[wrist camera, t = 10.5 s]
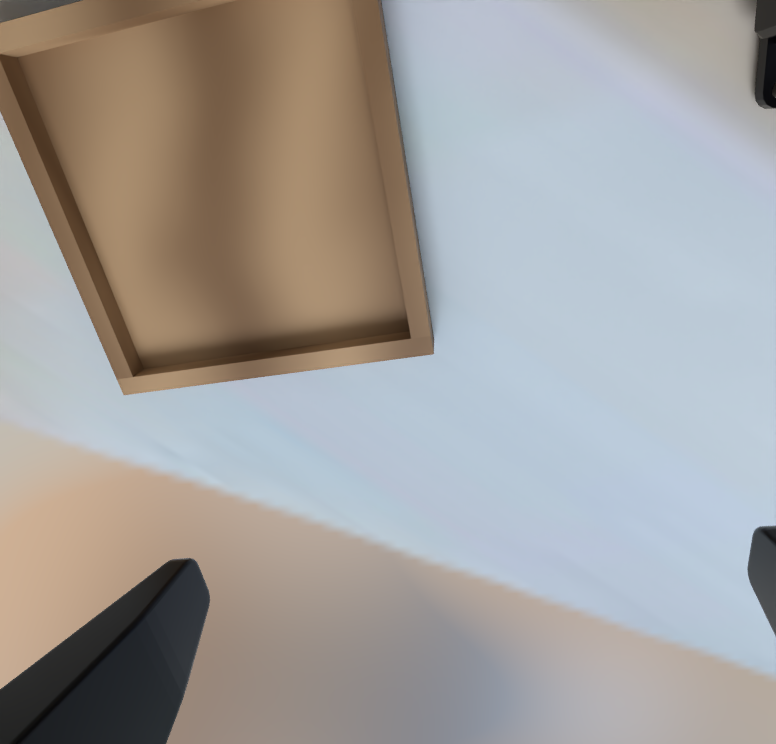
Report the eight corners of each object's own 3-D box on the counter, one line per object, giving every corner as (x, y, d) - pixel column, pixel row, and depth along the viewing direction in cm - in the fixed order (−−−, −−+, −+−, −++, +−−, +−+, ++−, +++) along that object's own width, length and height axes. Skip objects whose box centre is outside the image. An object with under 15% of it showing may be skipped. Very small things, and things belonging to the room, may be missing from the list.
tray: (372, -59, 15) (365, -78, 13) (433, 340, 20) (433, 353, 18) (2, 40, 17) (-34, 32, 15) (142, 380, 22) (123, 395, 20)
